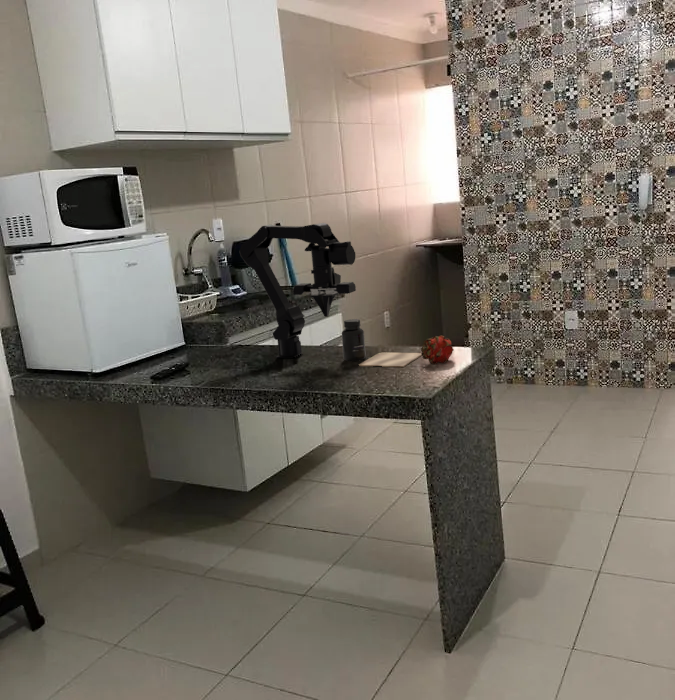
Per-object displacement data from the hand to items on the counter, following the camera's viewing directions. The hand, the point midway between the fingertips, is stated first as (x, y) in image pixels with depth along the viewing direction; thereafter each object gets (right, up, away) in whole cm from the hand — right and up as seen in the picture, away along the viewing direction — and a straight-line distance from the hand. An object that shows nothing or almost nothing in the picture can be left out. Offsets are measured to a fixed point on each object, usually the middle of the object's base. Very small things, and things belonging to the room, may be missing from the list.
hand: (326, 316), depth 228 cm
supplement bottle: (+9, -13, -3) cm, 16 cm away
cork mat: (+19, -13, -8) cm, 25 cm away
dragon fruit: (+32, -14, -16) cm, 39 cm away
